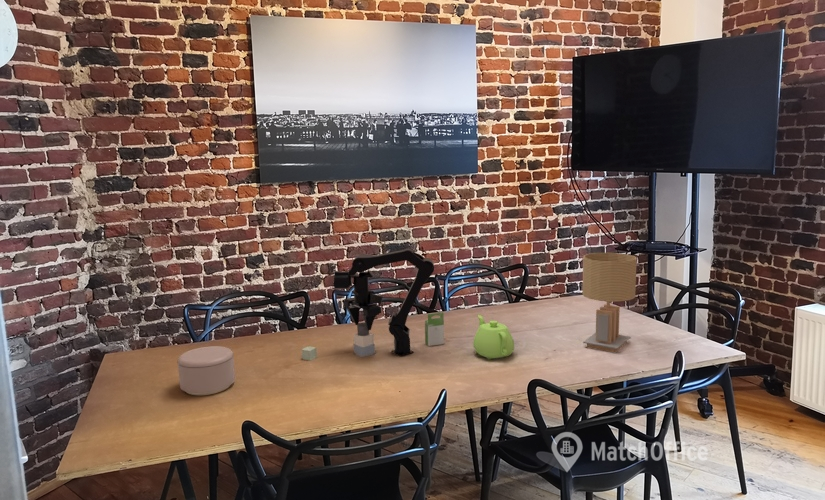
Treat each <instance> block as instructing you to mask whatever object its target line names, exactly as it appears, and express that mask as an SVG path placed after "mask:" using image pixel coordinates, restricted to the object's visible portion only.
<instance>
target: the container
mask: <svg viewBox="0 0 825 500" xmlns="http://www.w3.org/2000/svg"><path fill="white" fill-rule="evenodd" d="M177 366H178V367H177V368H178V369H177V370H178V378H179V388H180V390H182V391H183V392H186V393H187V394H189V395H192V396H208V395H213V394H218V393H221V392H224V391H225V390H227V389H229V388H230V386H232V384H233V383H234V382H235V381H236V373H235V361H234V352H233V351H232V349H230V348H228V347H225V346H220V345H219V346H218V345H217V346H216V345H215V346H214V345H213V346H212V345H211V346H202V347H197V348H193V349H191V350H187V351H185V352H183V353H182V354H181V355H180V356H179V357H178V358H177Z"/></svg>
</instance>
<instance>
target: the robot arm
mask: <svg viewBox="0 0 825 500" xmlns="http://www.w3.org/2000/svg"><path fill="white" fill-rule="evenodd" d="M405 261H407V262H409V263H410V264H411V265H412V266H413V267H415V268H416V269H417V271H416V272H415V273H416V274H415V277H414V280H413V281H412V283H411V286H410V288H409V290H408V292H407V294H406V296H405V298H404V300H403V302H402V304H401V306H400V307H399V310H398V311H397V312H396V311H393V312H392V314H391V315H392V316H391V317H390V318H389V319H388V325H387V326H388V332H389V333H390V335H392V336H393V338H394V340H393V343H394V345H393V346H394V347H393V350H391V353H393V354H394V355H397V356H399V357H402V356H406V355H410V354H414V350H411V338H410V330H411V329H410V328H409V327H408V326H407V321H408V317H409V316H408V315H409V314H410V313H411V310H412V308H413V306H414V304H415V302H416V300H417V298H418V295H419V293H420V292H421V290H422V289H423V286H424V284H425V283H426V282H427V281H428V280H429V278H430V277H431V276H432V274H433V273H434V271H435V263H434V261H433V259H431V258H429V257H424V256H423V255H421V254H419V253H418V252H415V251H414V250H413V249H411V248H405V249H401V250H397V251H396V250H395V251H391V252H385V253H381V254H359V255H356V256H355V257H354V259H353V261H352V263H351V265H352V266H351V267H350V268H349V269H348V271H347V270H346V271H345V270H344V271H343V270H342V271H339V270H335V271H334V272H333V274H334V275H333V288H334V290H341V289H342V290H343V289H344V290H345V289H346V290H348V289H349V290H350V287H353V290H351V294H353V297H348V298H345V299H344V301H343V307H345V309H346V310H347V311H348V313H349V315H350V317H351V319H352V321H353V322H354V324H355V326H357V324H359V323H360V310H361V309H362V313H363V314H362V316H363V320H364V323H366V326H367V329H368V330H369V331H371V330H372V328H373V324H374V320H375V317H376V316H378V315H380V314H382V307H381V306H380V305H382V303H383V302H382V301H383V296H382V295H379V294H375V291H373V290H370V288H369V287H370V286H369V285H370V283H369V278H373V277H374V273H373V272H371V271H370V269H374V268H375V267H378V266H384V265H388V264H393V263H394V264H395V263H398V262H405ZM377 304H378V305H377Z"/></svg>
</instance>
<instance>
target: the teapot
mask: <svg viewBox="0 0 825 500" xmlns="http://www.w3.org/2000/svg"><path fill="white" fill-rule="evenodd" d="M477 317H478V321H479V323H478V325H479V326H478V329H477V331H476V332H475V335H474V339H473V342H472V343H473V348H474V350H475V352H476V353H477V354H478V355H480V356H482V357H484V358H486V359H487V360H493V359H498V358H506V357H509V356H510V355H511V354H512V353H514V350H515V343H514V338H513V336H512V334H511V332H510V329H509V328H508V326H506V325H505V324H504V323H501V322H499V321H497V320H490V321H489V322H487V323H485V319H484V318H483V315H481V314H477Z"/></svg>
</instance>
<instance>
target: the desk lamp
mask: <svg viewBox="0 0 825 500" xmlns="http://www.w3.org/2000/svg"><path fill="white" fill-rule="evenodd" d="M637 261H638V257H636V256H635V255H631V254H627V253H618V252H592V253H587V254H585V255H583V257H582V288H581V289H582V296H583V297H584V298H587V299H589V300H594V301H595V300H596V301H600V302H606V304H603V306H601V307H599V309H596V313H595V315H596V316H595V333H593V334H592V335H590V336H589V337H588V338H586V339H584V340H583V341H582V343H583V344H586V348H588V349H589V348H590V349H595V350H601V351H605V352H610V353H617V352H618V351H619V350H620V349H622V348H623V347H624V346H625V345H626V344H627V343H628V342H629V340H630V339H631V338H632V336H628V335H622V334H620V309H621V306H618V305H611V302H617V303H618V302H628V301H631V300H634V299H635V298H636V290H637V289H636V285H637Z"/></svg>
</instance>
